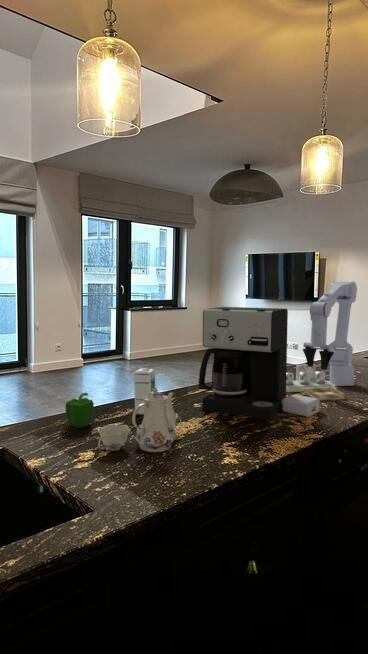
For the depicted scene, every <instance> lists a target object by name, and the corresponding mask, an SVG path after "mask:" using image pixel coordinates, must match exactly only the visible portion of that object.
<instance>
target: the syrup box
mask: <svg viewBox="0 0 368 654" xmlns="http://www.w3.org/2000/svg"><path fill="white" fill-rule="evenodd" d="M133 382H134V384H133V385H134V388H133V389H134V410H135V409H136V407H137V406H138V405H140V404H143V403H145V402H144V399H143V397H144V396H146V395H149V393H150V392H153V389H154V387H156V369H154V368H145V367H144V368H139V369H137V370H136V371H135V370H134V371H133ZM144 406H145V405H144ZM142 407H143V406H142ZM142 407H140V408H139V410H138V411H137V413H136V415H144V414H145V410H143V408H142Z"/></svg>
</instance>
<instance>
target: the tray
mask: <svg viewBox="0 0 368 654" xmlns="http://www.w3.org/2000/svg"><path fill="white" fill-rule="evenodd" d="M304 395H307V396H308V397H311V398H316V399H319V401H335V400H345V399H346V393H344V392H342V391H340V390H337V389H336V388H335V389H333V388H331V387H325V388H305V391H304Z"/></svg>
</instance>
